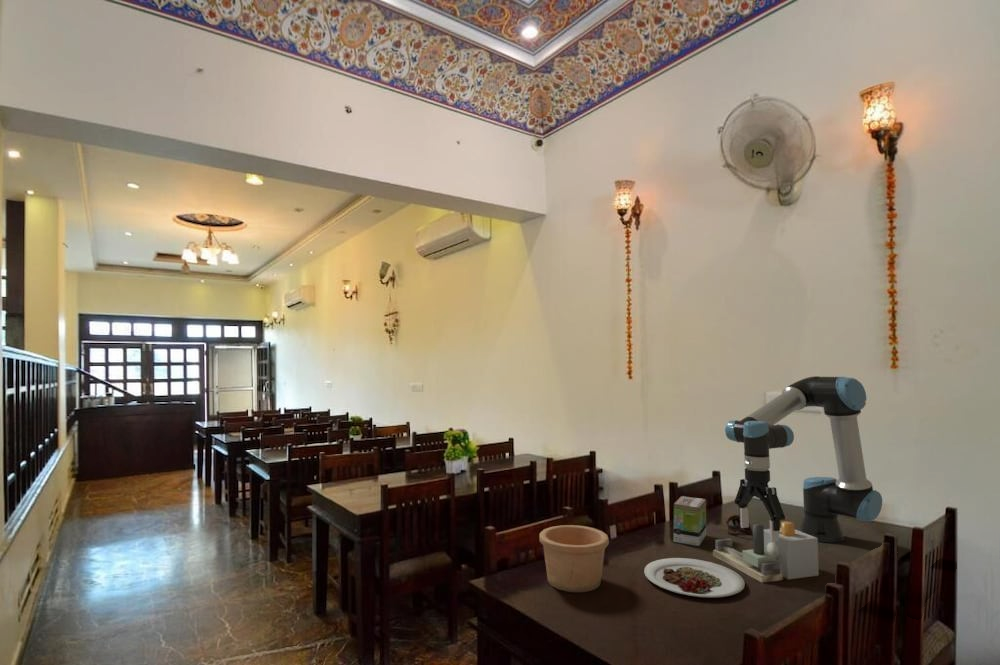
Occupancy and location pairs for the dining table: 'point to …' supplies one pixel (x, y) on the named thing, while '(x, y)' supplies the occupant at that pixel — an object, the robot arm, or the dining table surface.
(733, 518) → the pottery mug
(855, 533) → the dining table surface
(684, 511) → the tea box
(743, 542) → the dining table surface
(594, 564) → the pottery
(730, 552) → the rail board
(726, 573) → the plated food
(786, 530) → the plunger
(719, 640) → the dining table surface
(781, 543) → the grey cube box
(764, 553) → the carriage
